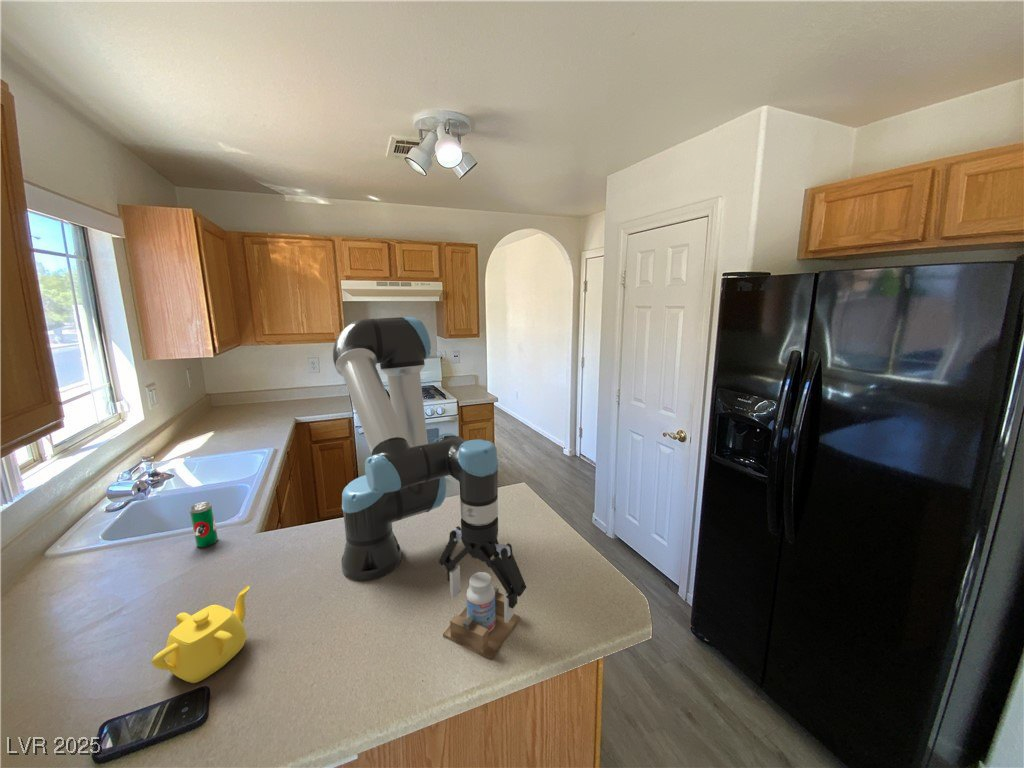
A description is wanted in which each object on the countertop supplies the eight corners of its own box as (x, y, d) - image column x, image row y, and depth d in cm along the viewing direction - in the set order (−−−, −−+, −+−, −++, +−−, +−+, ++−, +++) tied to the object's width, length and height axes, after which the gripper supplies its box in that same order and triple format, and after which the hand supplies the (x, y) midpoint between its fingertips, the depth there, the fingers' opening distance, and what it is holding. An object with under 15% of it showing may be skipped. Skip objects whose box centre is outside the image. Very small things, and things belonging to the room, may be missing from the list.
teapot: (186, 639, 85) (177, 597, 83) (257, 623, 89) (249, 582, 87) (155, 700, 72) (143, 652, 70) (239, 677, 76) (230, 631, 74)
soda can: (221, 541, 119) (214, 504, 116) (201, 550, 114) (193, 512, 112) (213, 536, 121) (206, 499, 119) (193, 544, 117) (185, 507, 114)
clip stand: (442, 636, 85) (441, 613, 84) (475, 599, 95) (474, 578, 94) (491, 660, 79) (490, 636, 78) (520, 618, 90) (520, 596, 88)
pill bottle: (474, 640, 83) (472, 593, 81) (463, 620, 88) (461, 575, 86) (500, 629, 86) (499, 583, 84) (488, 610, 91) (487, 566, 89)
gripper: (419, 509, 84) (424, 596, 89) (525, 544, 73) (525, 643, 77) (442, 493, 91) (445, 575, 96) (543, 524, 79) (541, 616, 84)
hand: (481, 606), depth 86 cm, fingers open, 13 cm apart
